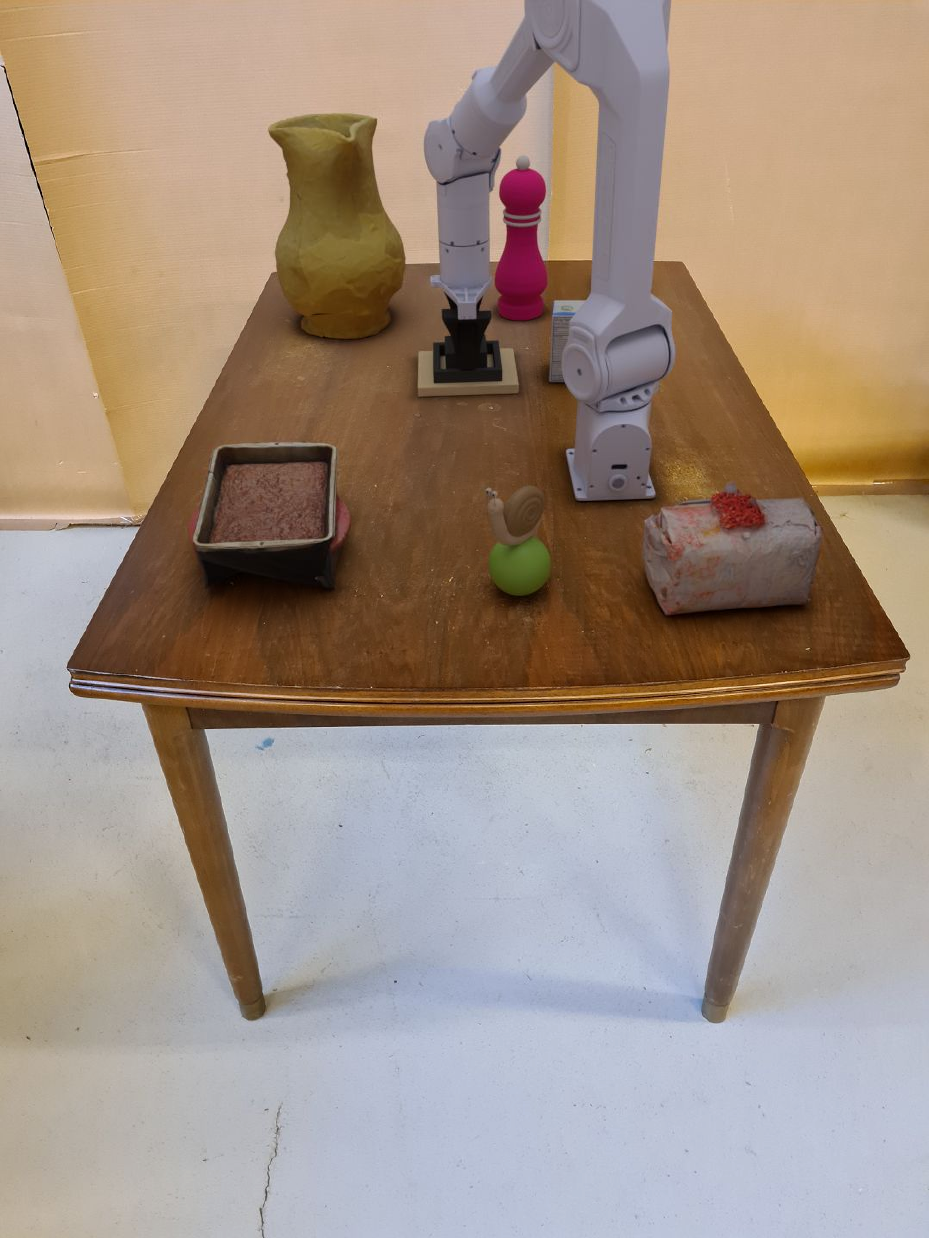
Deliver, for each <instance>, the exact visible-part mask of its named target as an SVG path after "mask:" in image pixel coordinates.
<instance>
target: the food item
mask: <svg viewBox="0 0 929 1238" xmlns="http://www.w3.org/2000/svg"><path fill="white" fill-rule="evenodd" d="M643 521H644V528H643V529H644V532H643V541H642V551H641V558H642V560H643V567H644V571H645V575H646V578H647V582H648V584H649V587H650V588H651V589H652V591H653V593H654V595H655V597H656V600H657V603H658V604H659V606H660V608H661V609H662V611H663V613H664V614H665V616H675V615H680V614H691V613H699V612H708V611H724V610H730V609H731V610H733V609H734V610H735V609H753V608H766V607H775V606H776V607H777V606H793V605H794V606H795V605H809V603H810V602H811V600H812V599H811V598H809V597H810V592H811V589H812V588H813V585H814V583H815V578H816V574H817V568H816V567H817V565H818V562H819V558H820V555H821V550H820V547H821V540H822V536H823V531H824V528H823V527H822V526H821V525H820V524H819V523H818V520H817V519H816V515H815V512H814V510H813V509H812V508H811V506H810V505H809V503H808V502H807V501H806V500H805V499H804V498H803V497H801V496H800V497H795V498H794V497H793V498H792V497H789V498H766V499H765V498H764V499H756V496H755V497H754V496H751V493H749V494H748V493H746V494H743V493H742V492H741V490H740V489H738V488H737V484H736V483H735V482H734V481H733V480H731V481H730V482H729V483H727V484H726V485H725V488H724V489H722V490H720V492H718V493H713V494H712V496H711V498H702V499H701V498H699V499H698V498H697V499H691V500H684V501H681V502H679V503H677V504H675V505H671V506H662V507H661V508H660V512H659V514H657V515H654V514H652V515H650V516H649V517H648V518H646V519H644V520H643Z"/></svg>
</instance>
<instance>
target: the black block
mask: <svg viewBox="0 0 929 1238" xmlns="http://www.w3.org/2000/svg"><path fill="white" fill-rule="evenodd" d="M486 341H487V336H486V334H484V336H483V339H482V343H481V349H480V355H479V360H478V364H477V367H476V368H482V367H487V345H486ZM444 342H445V364H446V369H452V368H459V367H458V364H457V360H456V355H455V350H454V346H453V342H452V338H451V336H450V335H444Z"/></svg>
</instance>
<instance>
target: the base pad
mask: <svg viewBox="0 0 929 1238" xmlns="http://www.w3.org/2000/svg"><path fill="white" fill-rule="evenodd" d="M486 345H487V367H482V368H475V369H459V368H452V369H446V364H445V341H437V342H432V350H418V360H417V364H418V365H417V396H418V397H422V398H423V397H446V396H448V397H449V396H450V397H451V396H478V395H505V394H506V395H507V394H508V395H509V394H511V395H512V394H519V392H520V384H519V377H518V370H517V365H516V358H515V351H514V348H513V347H506V348H504V347H503V348H502V347H501V348H500V341H499V340H498V339H496V340H486Z"/></svg>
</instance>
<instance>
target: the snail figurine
mask: <svg viewBox="0 0 929 1238" xmlns="http://www.w3.org/2000/svg"><path fill="white" fill-rule="evenodd" d="M485 494H486V495H487V502H488V503H487V505H486V510H487V513H488V514H489V521H490V526H491V529H492V533H493V535H494V537H495V540H496V541H497V542H496V543H495V544H494V546H493V547H492V549H491V551H490V553H489V557H488V563H487V564H488V565H487V566H488V572H489V576H490V579H491V580H492V582H493V583H494V585H495V586H496V587H497V588H498V589H499V590H500V591H502V592H504V593H506V594H508V595H511V596H517V597H518V596H519V597H523V596H528V595H531V594H533V593H535V592H537V591H539V590H540V589H541V588H542V587H543V586H544V585H545V583H546V582H547V581H548V579H549V576H550V573H551V569H552V559H551V555H550V552H549V550H548V548H547V547H546V545H545V544H544V543H543V542H542V541H541V540H540V539H539V538H537V537H536V536H534V535H535V533H536V532H537V531H538V528H539V526H540V524H541V521H542V516H543V514H544V510H545V497H544V493H543V492H542V490H541V489H540V488H538V486H535V485H524V486H521V487H519V488H518V489H516V490H515V491H513V493H512V494H511V495H510V496H509V497H508V499H507V500H506V502H505V503H504V502H503V500H502V499H500V498H499V497H498V496H499V492H498V491H497V490H493V489H492V488H491V487H487V488H485ZM490 495H491V497H492V499H490Z"/></svg>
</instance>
